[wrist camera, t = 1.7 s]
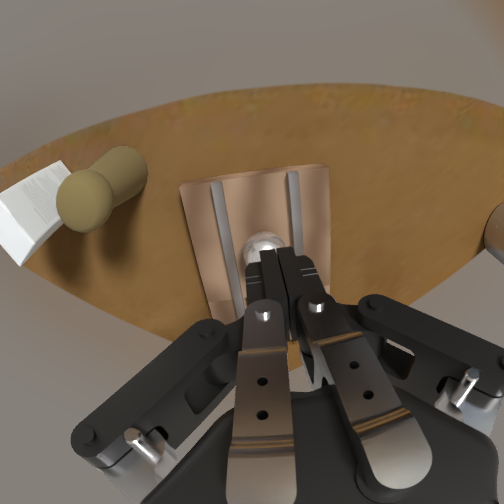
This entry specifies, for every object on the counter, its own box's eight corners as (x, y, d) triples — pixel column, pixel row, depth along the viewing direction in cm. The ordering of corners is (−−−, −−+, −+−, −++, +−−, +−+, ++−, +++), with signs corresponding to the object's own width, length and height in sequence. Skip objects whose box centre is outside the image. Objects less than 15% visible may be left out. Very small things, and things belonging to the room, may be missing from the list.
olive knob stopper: (128, 208, 31) (88, 257, 21) (89, 177, 28) (36, 215, 19) (158, 168, 29) (122, 203, 19) (117, 134, 26) (63, 155, 17)
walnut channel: (323, 163, 29) (331, 169, 27) (324, 323, 41) (329, 338, 38) (182, 182, 30) (177, 190, 27) (222, 338, 41) (221, 353, 38)
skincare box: (43, 183, 28) (-18, 223, 17) (61, 159, 27) (-5, 193, 16) (72, 217, 30) (19, 269, 20) (91, 195, 29) (36, 243, 19)
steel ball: (281, 221, 30) (288, 240, 26) (284, 257, 32) (291, 280, 29) (239, 227, 30) (240, 247, 27) (245, 263, 33) (247, 286, 29)
